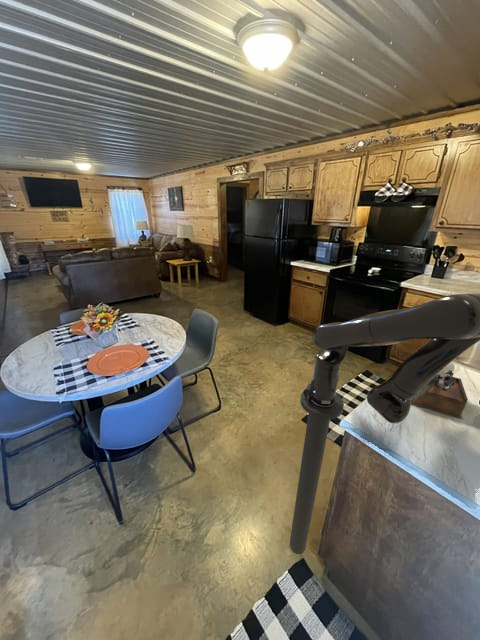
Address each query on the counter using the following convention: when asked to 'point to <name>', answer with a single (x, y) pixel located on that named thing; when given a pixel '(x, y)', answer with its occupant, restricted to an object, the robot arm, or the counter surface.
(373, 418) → the counter surface
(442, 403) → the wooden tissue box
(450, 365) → the lightbulb
